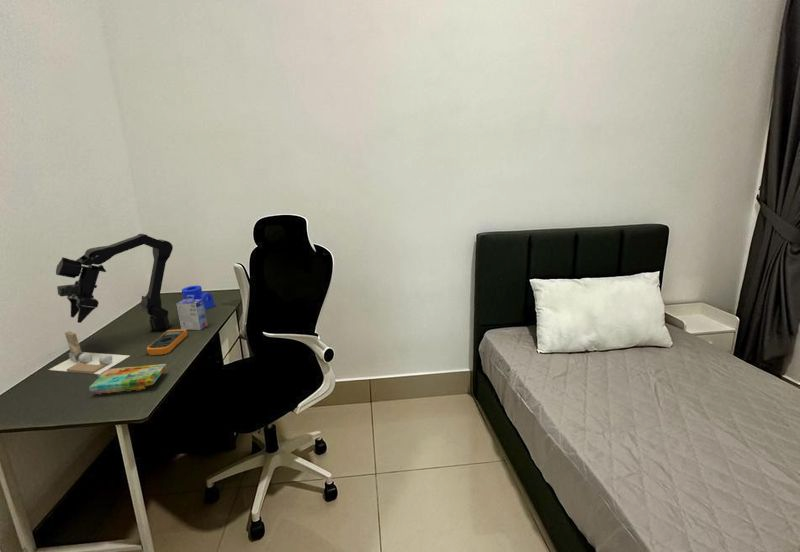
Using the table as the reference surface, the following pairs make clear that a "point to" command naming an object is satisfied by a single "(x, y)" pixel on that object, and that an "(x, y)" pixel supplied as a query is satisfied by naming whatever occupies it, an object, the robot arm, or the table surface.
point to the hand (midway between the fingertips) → (75, 319)
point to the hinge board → (90, 363)
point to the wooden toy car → (73, 346)
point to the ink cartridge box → (192, 313)
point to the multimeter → (166, 342)
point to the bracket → (199, 295)
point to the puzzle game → (127, 378)
